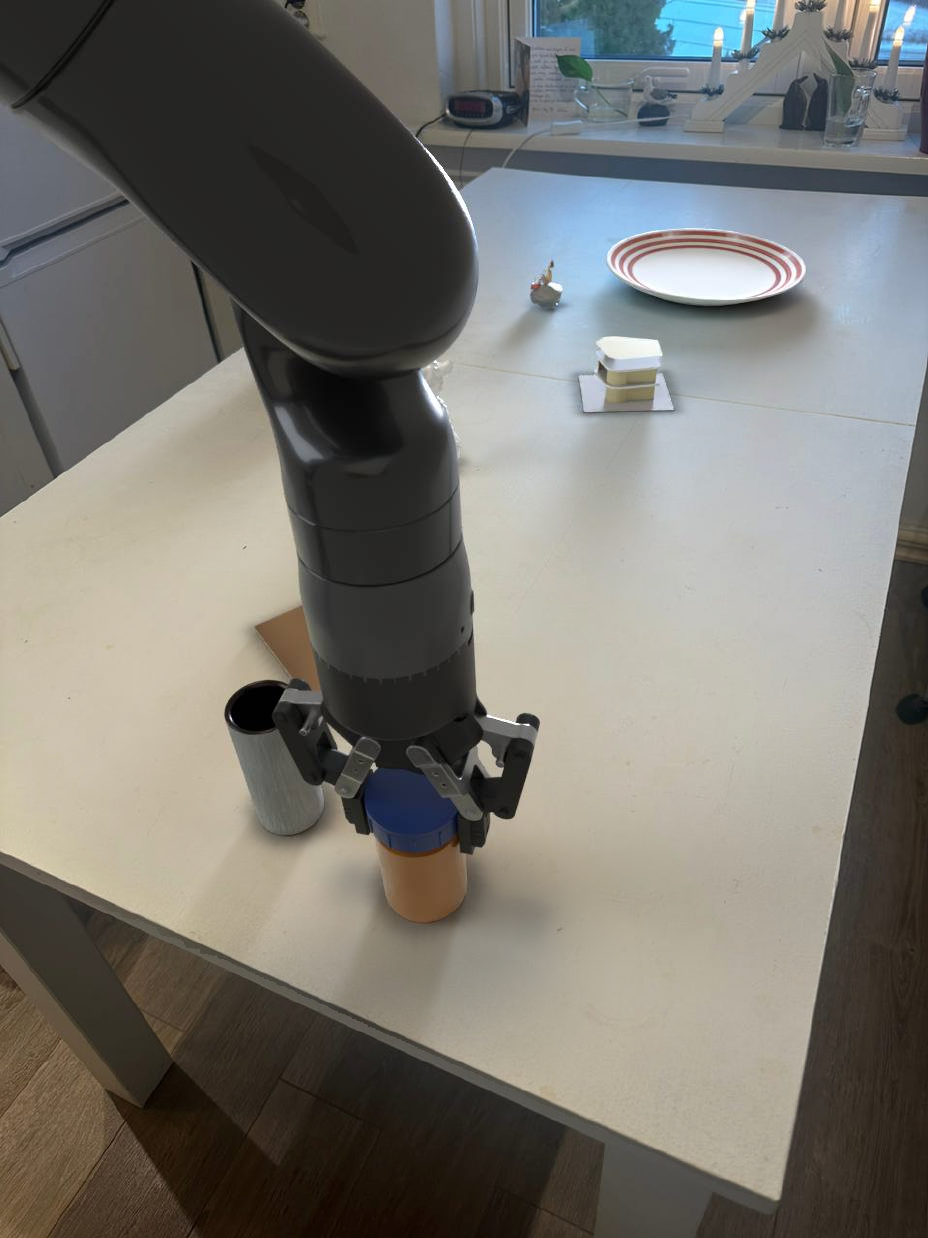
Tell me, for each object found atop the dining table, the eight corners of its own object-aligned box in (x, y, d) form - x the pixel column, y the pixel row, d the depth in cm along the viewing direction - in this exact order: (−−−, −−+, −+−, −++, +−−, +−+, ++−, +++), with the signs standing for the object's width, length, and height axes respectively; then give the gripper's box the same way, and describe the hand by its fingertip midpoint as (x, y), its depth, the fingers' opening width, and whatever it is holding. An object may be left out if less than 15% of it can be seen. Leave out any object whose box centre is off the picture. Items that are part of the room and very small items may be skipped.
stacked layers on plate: (662, 373, 104) (667, 328, 101) (673, 410, 98) (679, 364, 94) (578, 375, 105) (580, 331, 101) (584, 412, 98) (586, 366, 94)
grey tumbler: (326, 830, 58) (300, 727, 51) (257, 841, 58) (222, 739, 51) (323, 776, 61) (298, 673, 54) (258, 787, 61) (224, 684, 54)
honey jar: (402, 936, 52) (387, 856, 46) (373, 867, 56) (356, 785, 50) (481, 902, 54) (476, 820, 48) (447, 837, 57) (439, 754, 51)
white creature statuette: (431, 429, 97) (424, 324, 89) (487, 457, 92) (484, 348, 84) (366, 464, 92) (351, 356, 84) (421, 494, 87) (411, 383, 79)
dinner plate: (783, 247, 133) (788, 224, 131) (821, 321, 113) (827, 295, 111) (602, 249, 136) (603, 226, 134) (607, 321, 116) (608, 297, 114)
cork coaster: (320, 718, 65) (318, 713, 65) (255, 631, 73) (253, 625, 73) (453, 652, 70) (453, 646, 70) (379, 576, 78) (378, 571, 77)
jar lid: (486, 808, 50) (485, 789, 49) (415, 872, 47) (412, 853, 46) (418, 756, 53) (416, 737, 52) (347, 813, 50) (343, 794, 49)
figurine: (563, 311, 119) (565, 266, 115) (531, 313, 119) (531, 268, 115) (559, 296, 123) (560, 252, 119) (528, 297, 123) (528, 254, 119)
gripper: (209, 650, 38) (280, 864, 50) (530, 697, 35) (529, 913, 47) (276, 548, 44) (326, 762, 55) (559, 582, 41) (552, 800, 52)
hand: (419, 830), depth 51 cm, fingers closed on jar lid, 5 cm apart
